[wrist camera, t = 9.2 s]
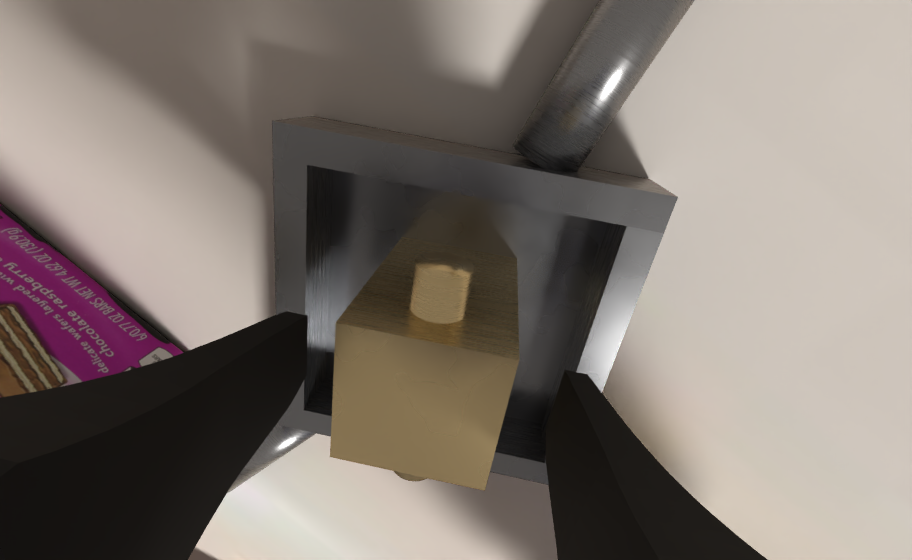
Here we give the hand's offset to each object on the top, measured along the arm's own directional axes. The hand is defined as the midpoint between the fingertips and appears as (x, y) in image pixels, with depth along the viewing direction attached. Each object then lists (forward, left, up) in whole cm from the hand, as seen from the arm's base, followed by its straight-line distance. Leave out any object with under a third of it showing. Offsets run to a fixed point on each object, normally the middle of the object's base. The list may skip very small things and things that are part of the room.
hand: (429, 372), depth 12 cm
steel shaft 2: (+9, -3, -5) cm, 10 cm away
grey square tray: (0, 0, -5) cm, 5 cm away
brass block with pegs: (0, 0, -4) cm, 4 cm away
